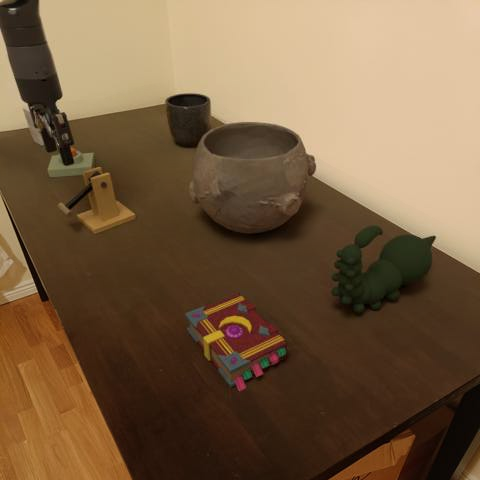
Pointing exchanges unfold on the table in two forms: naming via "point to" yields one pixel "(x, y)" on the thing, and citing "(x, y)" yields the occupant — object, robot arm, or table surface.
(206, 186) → the bowl
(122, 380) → the table surface
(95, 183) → the wooden lever stand
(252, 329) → the decorative book
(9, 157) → the table surface
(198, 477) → the table surface
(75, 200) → the switch lever
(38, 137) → the small box
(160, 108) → the table surface
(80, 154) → the switch block
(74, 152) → the button
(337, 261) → the toy figurine
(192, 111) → the planter
